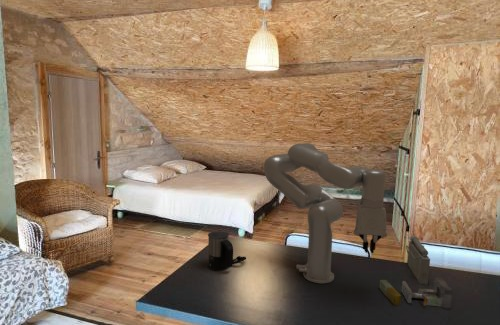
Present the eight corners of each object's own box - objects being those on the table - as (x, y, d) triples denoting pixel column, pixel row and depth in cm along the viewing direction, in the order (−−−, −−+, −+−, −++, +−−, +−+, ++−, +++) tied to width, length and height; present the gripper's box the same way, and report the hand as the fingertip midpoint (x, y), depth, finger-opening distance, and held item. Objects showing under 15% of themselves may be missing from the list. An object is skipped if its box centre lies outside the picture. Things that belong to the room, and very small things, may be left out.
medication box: (378, 288, 130) (379, 279, 130) (385, 288, 131) (385, 278, 130) (394, 306, 119) (394, 295, 118) (401, 305, 119) (402, 295, 118)
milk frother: (203, 267, 145) (203, 235, 143) (224, 255, 158) (225, 225, 156) (229, 276, 138) (230, 242, 136) (250, 262, 151) (250, 231, 149)
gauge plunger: (409, 305, 118) (410, 294, 117) (401, 291, 127) (402, 280, 127) (443, 309, 116) (444, 297, 116) (432, 294, 126) (433, 283, 125)
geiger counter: (434, 252, 132) (416, 231, 156) (417, 250, 133) (401, 230, 157) (430, 285, 134) (413, 259, 158) (413, 283, 135) (399, 258, 159)
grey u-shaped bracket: (427, 306, 118) (429, 288, 117) (419, 293, 127) (420, 276, 126) (450, 308, 117) (452, 290, 116) (439, 295, 126) (441, 277, 125)
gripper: (351, 204, 118) (348, 253, 121) (397, 207, 116) (393, 257, 118) (348, 199, 126) (345, 246, 128) (391, 202, 123) (388, 249, 126)
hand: (368, 251), depth 123 cm, fingers closed
